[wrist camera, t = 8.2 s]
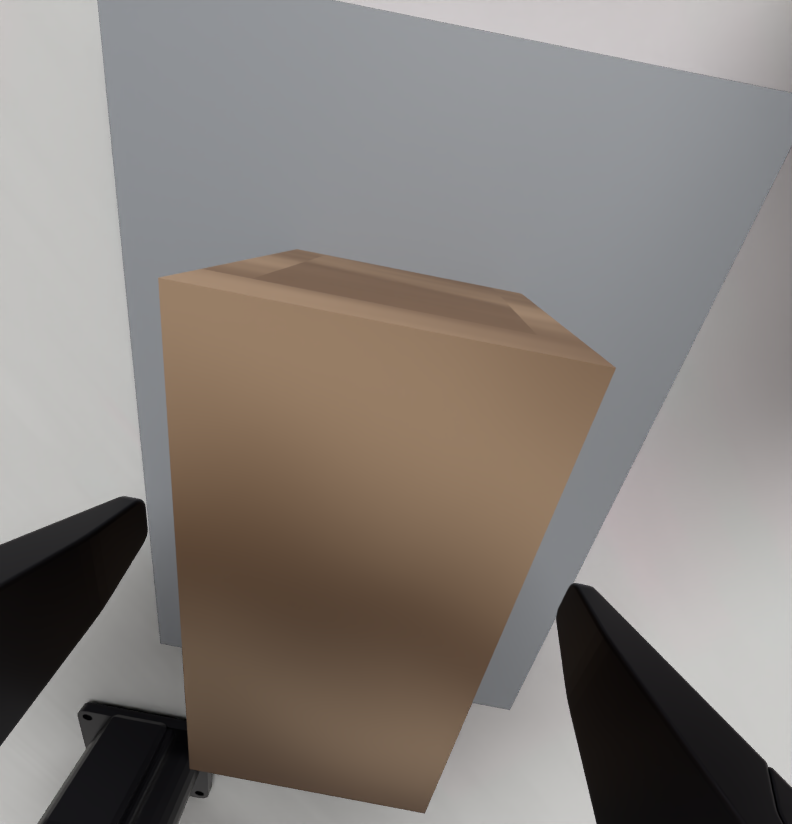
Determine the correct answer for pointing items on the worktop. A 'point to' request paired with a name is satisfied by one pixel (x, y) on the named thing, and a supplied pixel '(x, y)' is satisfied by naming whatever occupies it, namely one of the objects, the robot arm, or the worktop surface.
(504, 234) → the pin board
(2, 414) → the worktop surface
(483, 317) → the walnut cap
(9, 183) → the worktop surface
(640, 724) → the robot arm
